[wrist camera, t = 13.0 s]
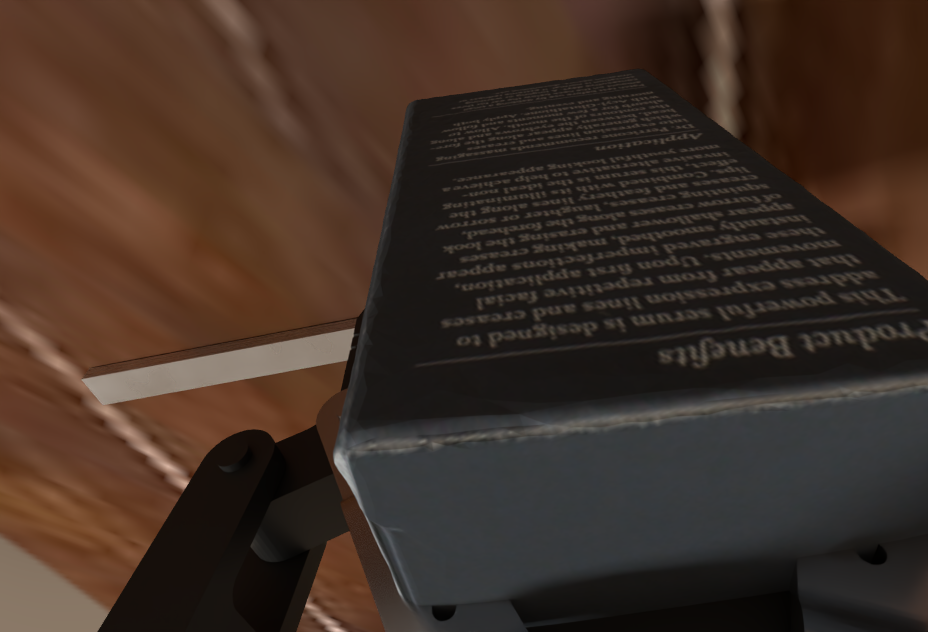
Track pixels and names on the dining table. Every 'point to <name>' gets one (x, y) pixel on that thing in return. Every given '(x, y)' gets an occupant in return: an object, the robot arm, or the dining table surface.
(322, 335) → the rails
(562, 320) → the box
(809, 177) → the dining table surface
